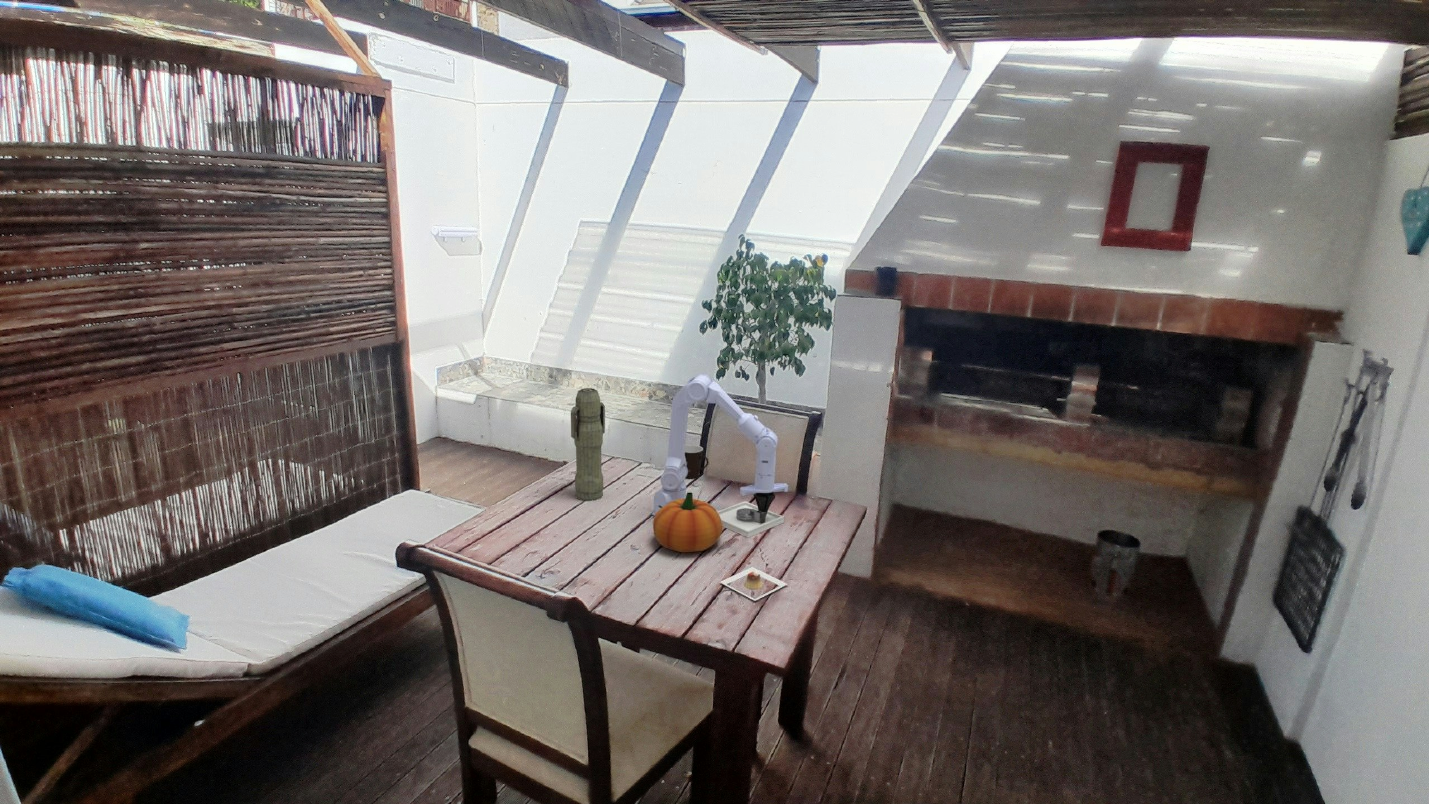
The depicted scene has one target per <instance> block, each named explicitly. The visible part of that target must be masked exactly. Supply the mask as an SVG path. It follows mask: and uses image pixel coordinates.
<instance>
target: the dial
mask: <svg viewBox="0 0 1429 804" xmlns="http://www.w3.org/2000/svg"><path fill="white" fill-rule="evenodd" d="M736 517H737V518H738V519H740V520H745V521H750V520H755V521H758V522H760V523H765V522H766V511H758V510H755V509H749V508H742V509H739V510H737V513H736Z"/></svg>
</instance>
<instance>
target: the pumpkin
mask: <svg viewBox="0 0 1429 804" xmlns="http://www.w3.org/2000/svg"><path fill="white" fill-rule="evenodd" d="M717 511H718V510H716V509H715V507H714V506H712V505H711V504H710V503H708V502H706V501H704V500H700V499H696V498H693V492H686V499H677V500H675V501H672V502H670V503H668V504H667V505H665V506H664V507H662V508H661V509H660V510H659V511H658V512H657V513H656V514H655V516H654V517H653V521H652V531H653V534H654V537H655V539H656V540H657V542H659V544H660V545H661V547H663V548H665V549H669V550H673V551H676V552H680V553H690V552H691V553H692V552H700V551H701V552H702V551H705V550H707V549H709V548H711V547H713V546H714V545H715V544H716V543H717V541H718V540H719V539H721V536H722V533H723V528H724V527H723V526H722V522H721V518H720V516H719V514H718V513H717Z"/></svg>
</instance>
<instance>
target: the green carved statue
mask: <svg viewBox="0 0 1429 804" xmlns="http://www.w3.org/2000/svg"><path fill="white" fill-rule="evenodd" d="M599 394H600V393H599V392H598V390H596V388H591V387H590V388H589V387H586V388H585V387H584V388H580V389H579V390H578V391H577V394H576V396H575V406H573V407H572V408H571V409H570V435H571V436H570V437H571V438H572V439H573V440H574V442H573V443H574V446H575V462H576V465H575V466H576V472H575V475H574V489H575V497H577V498H578V499H577V498H576V499H577V500H579V499H580V501H583V500H585V502H591V501H592V500H593V501H597V499H598V500H600V499H602V498H603V497H604V474H603V471H602V445H603V443H604V441H603V440H604V439H603V436H604V434H605V431H606V406H605V404H604V402H602V401H601V397H600V395H599ZM602 496H603V497H602ZM601 497H602V498H601ZM599 498H600V499H599Z"/></svg>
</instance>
